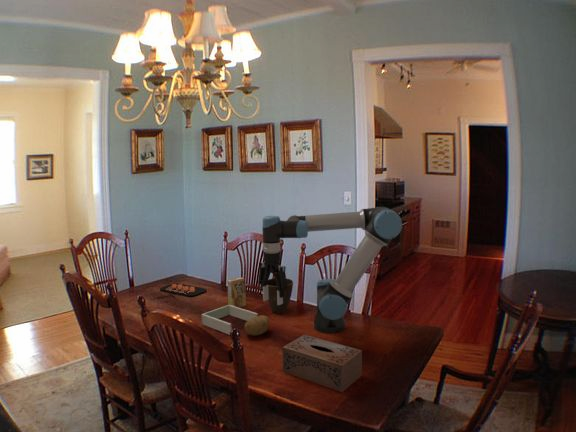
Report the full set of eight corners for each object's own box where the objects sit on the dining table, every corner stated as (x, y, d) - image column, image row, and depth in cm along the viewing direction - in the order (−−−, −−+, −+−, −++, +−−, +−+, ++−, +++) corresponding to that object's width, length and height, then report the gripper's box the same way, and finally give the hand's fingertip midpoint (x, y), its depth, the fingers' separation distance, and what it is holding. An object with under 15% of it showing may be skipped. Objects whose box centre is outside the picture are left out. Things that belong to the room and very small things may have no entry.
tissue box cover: (361, 375, 164) (361, 350, 162) (342, 393, 152) (342, 365, 151) (304, 357, 179) (304, 334, 177) (283, 372, 167) (282, 347, 166)
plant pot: (299, 311, 231) (299, 282, 228) (277, 318, 221) (276, 287, 219) (281, 304, 242) (281, 276, 240) (259, 311, 233) (258, 281, 231)
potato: (275, 330, 206) (275, 314, 205) (256, 341, 195) (256, 324, 193) (258, 326, 212) (258, 310, 210) (239, 336, 200) (239, 320, 199)
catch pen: (257, 323, 216) (257, 313, 215) (230, 335, 202) (229, 324, 202) (229, 313, 229) (229, 304, 229) (201, 324, 216) (201, 314, 215)
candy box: (241, 303, 244) (240, 277, 242) (246, 305, 241) (245, 278, 239) (228, 307, 239) (227, 280, 237) (232, 309, 236) (231, 281, 234)
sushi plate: (209, 292, 268) (208, 286, 268) (172, 306, 243) (171, 300, 243) (175, 285, 284) (174, 279, 283) (137, 298, 259) (136, 292, 258)
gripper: (248, 250, 195) (250, 299, 198) (283, 256, 181) (284, 309, 185) (260, 247, 201) (262, 295, 204) (295, 253, 187) (296, 304, 190)
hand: (272, 302), depth 194 cm, fingers open, 8 cm apart
